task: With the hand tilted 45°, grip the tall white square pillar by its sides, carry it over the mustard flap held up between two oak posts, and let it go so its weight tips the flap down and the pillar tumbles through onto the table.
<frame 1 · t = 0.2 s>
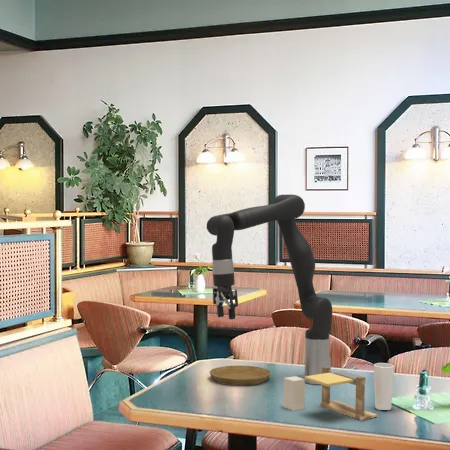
hand: (226, 318, 253), 29 cm above the table, tool pointing down, fingers open, 8 cm apart
white square pillar: (293, 407, 244), on the table
drinking glass: (383, 409, 243), on the table
frame: (342, 412, 238), on the table
plant saucer: (240, 380, 283), on the table
trapdoor: (335, 380, 236), point 11 cm above the table, hinge at 0.0°
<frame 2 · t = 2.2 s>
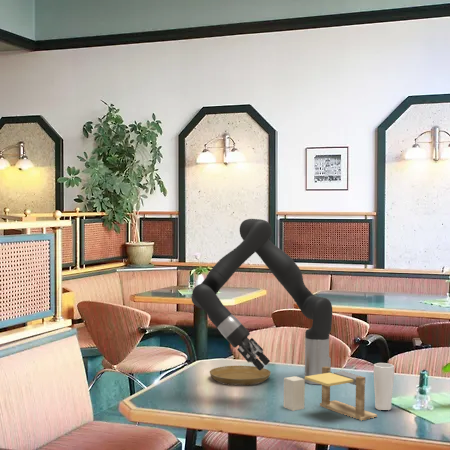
hand: (265, 366, 246), 13 cm above the table, tool tilted 45°, fingers open, 8 cm apart
nothing on the table moved.
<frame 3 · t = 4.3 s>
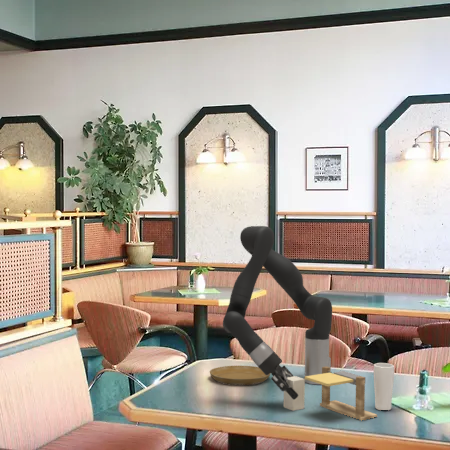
hand: (298, 394, 243), 5 cm above the table, tool tilted 45°, fingers closed on white square pillar, 7 cm apart
white square pillar: (293, 407, 244), on the table, touching gripper
everything else where it was.
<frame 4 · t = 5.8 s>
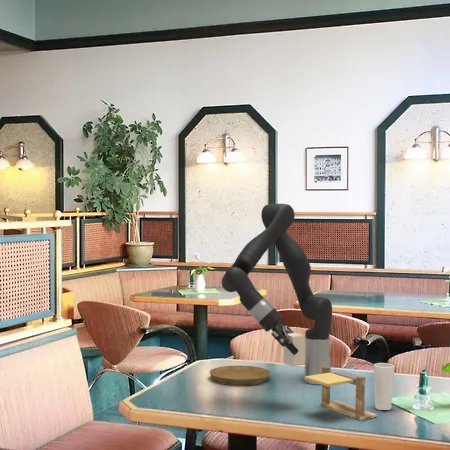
hand: (298, 350, 243), 19 cm above the table, tool tilted 45°, fingers closed on white square pillar, 7 cm apart
white square pillar: (294, 363, 243), point 15 cm above the table, touching gripper
everything else where it was.
when the fingers open (20 cm above the table, at t = 7.7 s): white square pillar drops 6 cm and tips over, resting on trapdoor.
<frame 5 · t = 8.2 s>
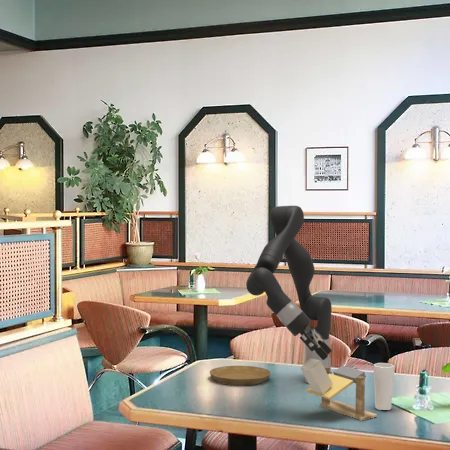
hand: (327, 355, 233), 20 cm above the table, tool tilted 45°, fingers open, 8 cm apart
white square pillar: (322, 387, 234), point 9 cm above the table, tilted 33°, touching trapdoor
trapdoor: (336, 383, 237), point 10 cm above the table, hinge at -22.6°, touching white square pillar
everything else where it was.
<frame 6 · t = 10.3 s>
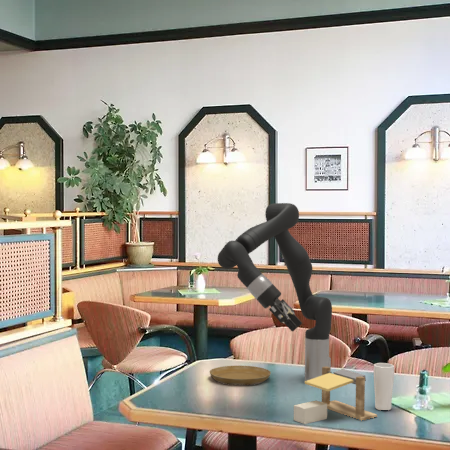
hand: (297, 327, 236), 29 cm above the table, tool tilted 45°, fingers open, 8 cm apart
white square pillar: (321, 409, 234), point 2 cm above the table, tilted 90°
trapdoor: (335, 381, 236), point 11 cm above the table, hinge at -8.0°
everything else where it was.
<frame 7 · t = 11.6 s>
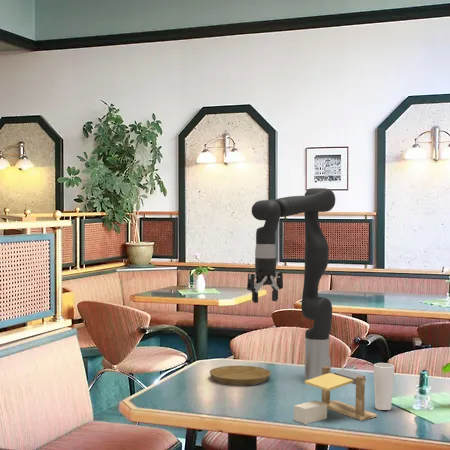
hand: (265, 301, 257), 34 cm above the table, tool pointing down, fingers open, 8 cm apart
trapdoor: (335, 381, 236), point 11 cm above the table, hinge at -7.4°
everything else where it was.
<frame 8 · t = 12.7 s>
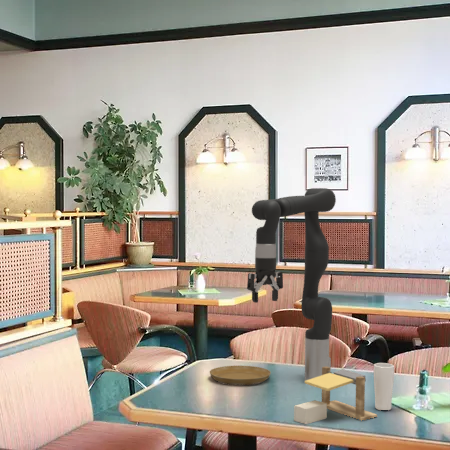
hand: (265, 301, 257), 34 cm above the table, tool pointing down, fingers open, 8 cm apart
nothing on the table moved.
at the end: white square pillar point 2.3 cm above the table; white square pillar inside the target area (8.4 cm from its centre), point 2.3 cm above the table; the gripper is holding nothing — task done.
